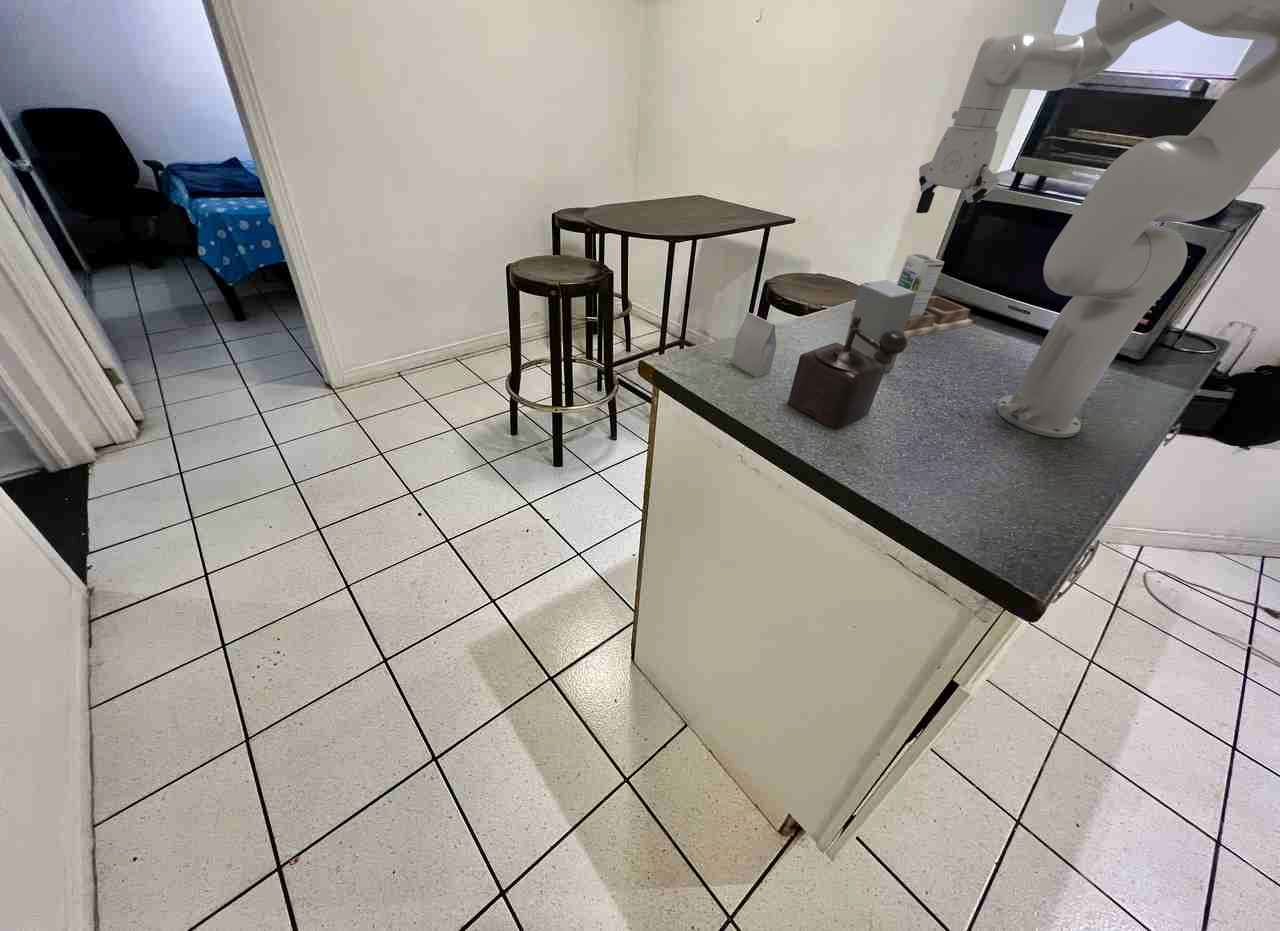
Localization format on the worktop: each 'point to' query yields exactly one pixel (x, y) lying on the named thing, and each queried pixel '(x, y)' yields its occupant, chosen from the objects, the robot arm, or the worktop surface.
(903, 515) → the worktop surface
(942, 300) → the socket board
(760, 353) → the white paper bag
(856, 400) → the manual coffee grinder
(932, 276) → the syrup box
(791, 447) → the worktop surface
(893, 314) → the skincare box
